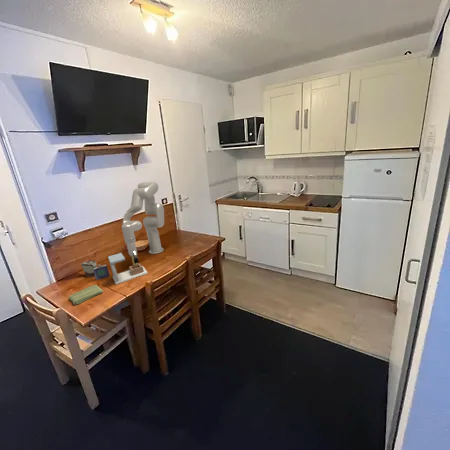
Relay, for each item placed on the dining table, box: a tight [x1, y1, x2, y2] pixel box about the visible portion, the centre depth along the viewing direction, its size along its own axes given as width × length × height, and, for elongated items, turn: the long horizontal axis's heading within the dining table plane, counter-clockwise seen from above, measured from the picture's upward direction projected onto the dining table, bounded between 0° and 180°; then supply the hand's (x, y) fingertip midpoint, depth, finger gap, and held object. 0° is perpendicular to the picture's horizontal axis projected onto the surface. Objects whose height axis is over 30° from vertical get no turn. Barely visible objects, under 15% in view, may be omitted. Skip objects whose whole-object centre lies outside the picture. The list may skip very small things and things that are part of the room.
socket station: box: [107, 252, 149, 285], centre depth 178 cm, size 14×22×16 cm, turn 122°
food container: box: [80, 260, 98, 278], centre depth 187 cm, size 12×6×10 cm, turn 71°
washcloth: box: [68, 284, 104, 306], centre depth 159 cm, size 13×18×3 cm
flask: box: [93, 263, 111, 281], centre depth 179 cm, size 9×3×11 cm, turn 121°
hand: (135, 261), depth 190 cm, fingers open, 9 cm apart
